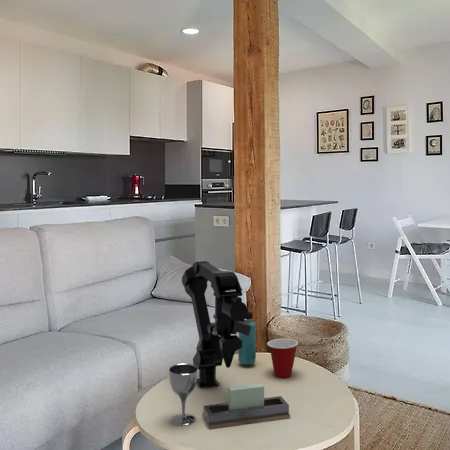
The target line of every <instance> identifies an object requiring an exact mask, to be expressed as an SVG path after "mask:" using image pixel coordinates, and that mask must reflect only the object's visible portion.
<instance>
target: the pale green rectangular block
mask: <svg viewBox="0 0 450 450" xmlns="http://www.w3.org/2000/svg"><path fill="white" fill-rule="evenodd" d="M264 398H265V385H264V384H262V382H261V383H253V384H244V385H236V386H229V387H228V403H229V411H232V410H240V409H247V408H255V407H263V406H264Z"/></svg>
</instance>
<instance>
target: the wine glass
mask: <svg viewBox="0 0 450 450" xmlns="http://www.w3.org/2000/svg"><path fill="white" fill-rule="evenodd" d="M168 377H169V383H170V388H171V390H172V391H173V392H174V393H175V394H176V395H177V397H178V398H179V399H180V402H181V413H178V414H175V415H174V416H172V417H171V418H170V421H171V423H172V424H173V425H175V426H181V427H183V426H184V427H185V426H189V425H192V424H195V423H196V421H197V419H196V416H194V415H193V414H190V413H186V412H185V411H186V403H187V399H188V397H189V396H190V395H191V394H192V393H193V392H194V390H195V389H196V386H197V379H198V369H197V367H196V366H194V365H193V364H190V363H177V364H174V365H172V366H170V367H169V369H168Z"/></svg>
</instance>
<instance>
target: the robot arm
mask: <svg viewBox="0 0 450 450" xmlns="http://www.w3.org/2000/svg"><path fill="white" fill-rule="evenodd" d="M208 282H209V283H210V287H211V288H212V290H213V294H212V295H213V296H214V314H213V316H212V318H213V319H214V322H211V318H210V314H209V310H208V308H209V307H208V304H207V303H208V302H207V299H206V291H207V288H208ZM181 284H182V286H183V287H184V292H185V293H186V294H187V295H188V297H190V298H191V303H192V308H193V313H194V318H195V323H196V324H195V325H196V329H197V333H198V338H199V339H198V342H197V345H196V353H195V354H194V355H193V358H192V365H194V366H196V367H197V371H198V378H197V382H196V384H197V385H198V386H199V388H201V389H202V388H210V387H211V388H212V387H217V386H220V383H219V382H218V380H217V367H221V366H222V365H223V362H224V364H225V367H226V368H231V366H232V362H233V359H234V356H235V353H236V352H238V350H239V349H240V348H242V347H243V341H242V340H241V339H240V338H239V335H237V334H239V333H242V334H245V335H247V336H249V334H250V331H251V328H252V326H251V325H250V324H249V323H247V322H246V321H244V320H246V319H245V318H246V316H247V314H248V311H249V308H248V306H247V304H246V303H245V302H243V301H242V300H243V299H242V296H243V292H242V291H243V288H242V286H241V283H240V281H239V278H238V276H237V275H236V273H235V272H234V271H230V270H221V269H220V268H218V267H216V266H214V265H213V264H211V263H210V262H209V261H207V260H204V261H202V260H201V261H195V262H193V264H192V266H190V267H189V268H187V269H186V270H185V271H184V272H183V275H182V276H181Z"/></svg>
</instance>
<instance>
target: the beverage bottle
mask: <svg viewBox="0 0 450 450" xmlns="http://www.w3.org/2000/svg"><path fill="white" fill-rule="evenodd" d="M253 318H254V317H253V311H249V310H248V314H247V316H246V318H245V319H244V321H246V322H247V323H249V324H250V325H251V326H252V328H251V331H250V334H249V336H247V335H245V334H242V333H239V332H238V337H239V338H240V339H241V340H242V341H243V347H242V348H240V349H239V350H237V353H238V354H237V356H238V362H239V363H240V364H243V365H252V364H255V363H256V358H257V354H256V353H257V347H256V346H257V342H256V340H257V339H256V338H257V337H256V326H257V325H256V323H255V322H254V321H253V320H252V319H253Z"/></svg>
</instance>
